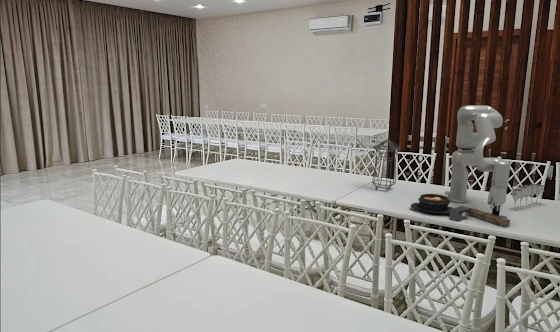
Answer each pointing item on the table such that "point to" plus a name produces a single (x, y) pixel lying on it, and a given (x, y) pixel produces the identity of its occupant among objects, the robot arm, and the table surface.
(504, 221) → the brown wooden bar
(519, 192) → the goblet set
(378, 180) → the geometric lantern
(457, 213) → the keeper
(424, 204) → the casserole
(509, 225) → the pintle plate
